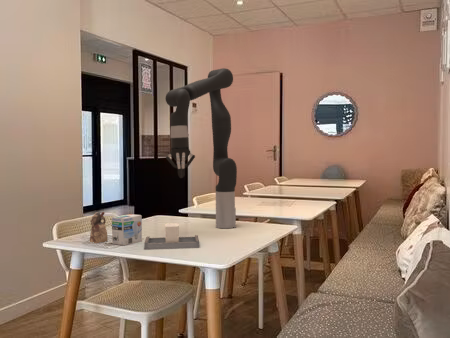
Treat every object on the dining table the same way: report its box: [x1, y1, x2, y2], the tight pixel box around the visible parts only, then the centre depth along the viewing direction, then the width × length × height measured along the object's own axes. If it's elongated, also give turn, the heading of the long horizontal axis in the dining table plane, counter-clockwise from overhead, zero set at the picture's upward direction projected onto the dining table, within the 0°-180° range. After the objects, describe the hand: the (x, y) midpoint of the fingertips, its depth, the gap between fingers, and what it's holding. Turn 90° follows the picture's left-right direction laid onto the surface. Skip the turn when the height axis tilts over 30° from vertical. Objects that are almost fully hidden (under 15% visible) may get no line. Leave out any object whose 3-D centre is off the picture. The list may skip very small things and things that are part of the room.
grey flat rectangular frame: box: [143, 234, 200, 250], centre depth 168 cm, size 20×12×2 cm, turn 96°
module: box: [164, 222, 180, 243], centre depth 168 cm, size 5×8×8 cm, turn 7°
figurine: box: [89, 211, 108, 244], centre depth 177 cm, size 7×7×12 cm
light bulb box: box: [111, 213, 143, 246], centre depth 174 cm, size 11×7×11 cm, turn 148°
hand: (181, 177), depth 185 cm, fingers closed
